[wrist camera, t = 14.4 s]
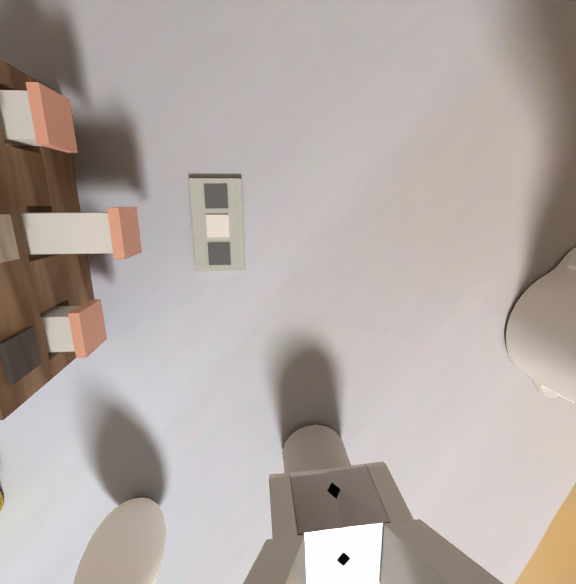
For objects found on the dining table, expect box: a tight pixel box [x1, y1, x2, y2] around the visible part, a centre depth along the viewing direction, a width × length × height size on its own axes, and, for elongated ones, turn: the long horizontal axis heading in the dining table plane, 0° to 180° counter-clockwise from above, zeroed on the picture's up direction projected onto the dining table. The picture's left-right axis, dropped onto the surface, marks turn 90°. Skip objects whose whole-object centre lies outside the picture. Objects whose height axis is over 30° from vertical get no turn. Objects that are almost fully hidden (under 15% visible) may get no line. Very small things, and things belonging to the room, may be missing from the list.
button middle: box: [19, 207, 142, 259], centre depth 26 cm, size 9×4×4 cm, turn 90°
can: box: [283, 425, 351, 473], centre depth 36 cm, size 8×8×12 cm
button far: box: [40, 300, 107, 358], centre depth 28 cm, size 9×4×4 cm, turn 90°
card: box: [189, 178, 245, 271], centre depth 33 cm, size 5×9×1 cm, turn 0°
